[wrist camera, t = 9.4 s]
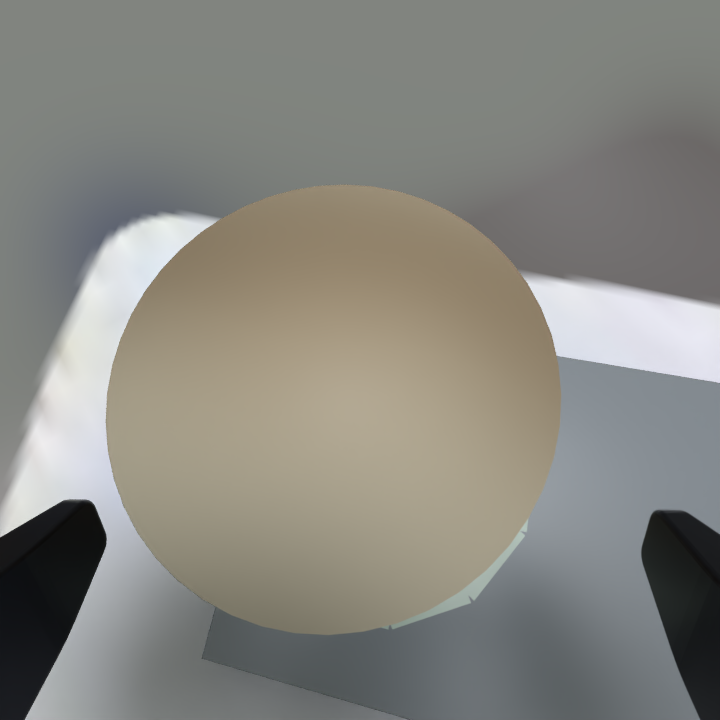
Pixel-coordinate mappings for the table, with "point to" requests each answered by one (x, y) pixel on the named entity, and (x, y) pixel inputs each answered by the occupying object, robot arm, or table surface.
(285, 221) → the birch peg
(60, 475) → the table surface
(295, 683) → the thin grey base plate
